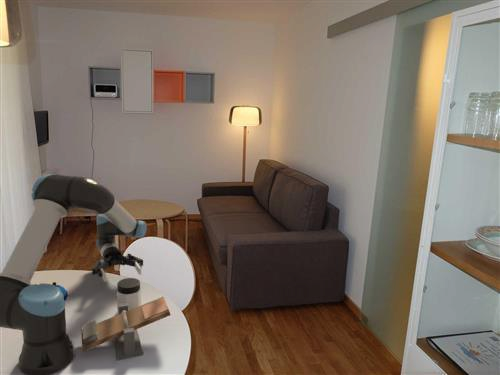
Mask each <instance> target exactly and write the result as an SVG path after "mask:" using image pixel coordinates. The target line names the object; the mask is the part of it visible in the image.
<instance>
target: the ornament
mask: <svg viewBox="0 0 500 375" xmlns="http://www.w3.org/2000/svg"><path fill="white" fill-rule="evenodd" d="M52 285H55V286H57V287H58V288H60V289H61V291H62V293H63V297H64V301H65V302H66V301H67V300H68V298H69V297H68V296H69V293H68V291H67V290H66V288H65V287H63V286H62V285H60V284H57V282H55V281H53V282H52Z"/></svg>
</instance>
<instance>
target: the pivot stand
mask: <svg viewBox="0 0 500 375" xmlns="http://www.w3.org/2000/svg"><path fill="white" fill-rule="evenodd" d="M118 310H119V314H121V311H122V310H126V311H128V304H127V303H123V304H118ZM112 340H113V344H114V352H115V356H116V361H121V360H126V359H127V360H128V359H131V358H136V357H141V356H143V355H144V350H143V347H142V344H141V339H140V335H139V331H138V329H136V330H134V328H129V329H124V335H122V336H120V337H117V338H115V339H112Z"/></svg>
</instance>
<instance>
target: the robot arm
mask: <svg viewBox="0 0 500 375" xmlns="http://www.w3.org/2000/svg"><path fill="white" fill-rule="evenodd" d="M31 191H32V193H31V199H32V201H33V202H32V205H33V208H34V210H33V212H32V214H31V216H30V218H29V220H28V221H27V223H26V225H25V227H24V230H23V232H22V233H21V235H20V237H19V239H18V241H17V243H16V244H15V245H14V248H13V251H12V252H11V255H10V257H9V258H8V260H7V262H6V263H5V266H4V268H3V270H2V271H1V272H0V328H4V329H10V330H17V331H21V332H22V339H23V344H22V348H21V352H20V355H19V357H18V366H19V371H20V372H22V374H24V375H52V374H55V373H57V372H59V371H62V370H63V369H64V368H66V367H68V366H69V364H70V363H71V362H72V361H73V359H74V358H75V349H74V344H73V342H72V341H71V339H70V336H69V334H68V333H67V321H66V301H64V297H63V293H62V291H61V289H60V288H58V287H57V286H55V285H52V284H53V283H52V284H51V283H43V282H42V283H39V284H37V283H35V284H32V283H31V282H32V279H33V276H34V274H35V272H36V270H37V269H38V265H39V263H40V261H41V259H42V257H43V255H44V254H45V251H46V249H47V247H48V245H49V243H50V240H51V238H52V236H53V235H54V232H55V230H56V228H57V227H58V223H59V222H60V219H62V218H65V217H67V215H68V213H69V211H70V209H73V210H74V209H76V210H86V211H90V212H92V213H94V214H96V229H97V234H96V235H97V240H96V248H97V251H98V252H99V254H100V255H101V257H102V259H101V258H96V262H95V264H94V265H93V266H92V268H91V269H92V270H91V273H92V275H94V276H95V275H96V274H97V277H99V278H102V281H103V282H107V275H106V273H105V271H106V270H107V269H110V268H111V267H113V266H129V267H134V268H135V269H134V270H136V272H137V273H138V275H140V276H141V275H142V268H143V267H144V259H142V258H140V257H137V256H135V255H132V254H131V253H127V255H123V253H122V252H121V250H120V248H118V246H117V244H116V236H117V237H118V236H120V237H129V238H135V239H136V238H139V239H140V238H141V239H142V238H144V237H145V236H146V234H147V230H148V229H147V223H146V221H144V220H139V219H136V218H135V217H133V215H131V214H130V212H128V211H127V210H126V208H124V207H123V206H122V205H121V204H120V203H119V202H118V201H117V200H116V197H115V195H114V194H113V193H112V192H111V190H109V189H108V188H107V187H105V186H104V185H103V184H101V183H100V182H99V181H96V180H94V179H91V178H89V177H86V176H76V175H75V176H74V175H61V174H59V173H53V174H50V173H49V174H48V173H47V174H43V175H41V176H40V177H39V178H37V179H36V181H35V182H33V185H32V188H31Z"/></svg>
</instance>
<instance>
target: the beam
mask: <svg viewBox="0 0 500 375" xmlns="http://www.w3.org/2000/svg"><path fill="white" fill-rule="evenodd" d="M170 316H171V312H170V309H169V307H168V304H167V302H166V300H165V297H164V296H162V297H159V298H156V299H154V300H151V301H149V302H146V303H144V304H141V306H139V307H136V308H134V309H131V310H129V311H126V310H122V311H121V314H119V315H118V314H117V315H114V316H112V317H109V318H106V319H104V320H102V321H99V322H96V320H95V319H94V320H91V321H90V322H89V321H88V322H87V323H84V324H82V328H81V329H80V331H81V332H80V333H81V334H80V335H81V349H82V351H83V352H86V351H89V350H90V349H93V348H96V347H98V346H100V345H103V344H105V343H108V342H109V341H112V340H113V339H115V338H117V337H120V336H122V335H124V329H129V328H134V330H136V329H137V330H139V329H140V328H143V327H145V326H148V325H150V324H153V323H156V322H157V321H158V322H159V321H160V320H163V319H165V318H167V317H170Z"/></svg>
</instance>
